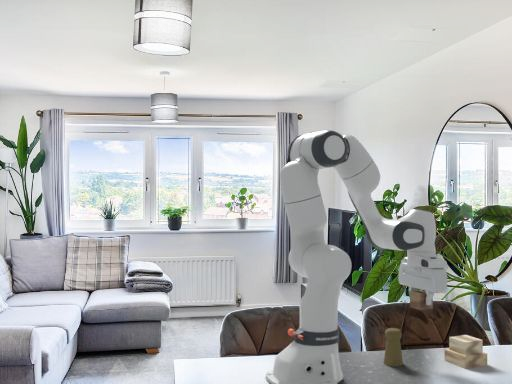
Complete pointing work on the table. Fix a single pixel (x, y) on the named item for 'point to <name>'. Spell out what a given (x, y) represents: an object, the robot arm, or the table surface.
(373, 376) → the table surface
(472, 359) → the tower base
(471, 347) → the tower mid
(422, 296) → the walnut cube
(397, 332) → the cork
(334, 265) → the robot arm
